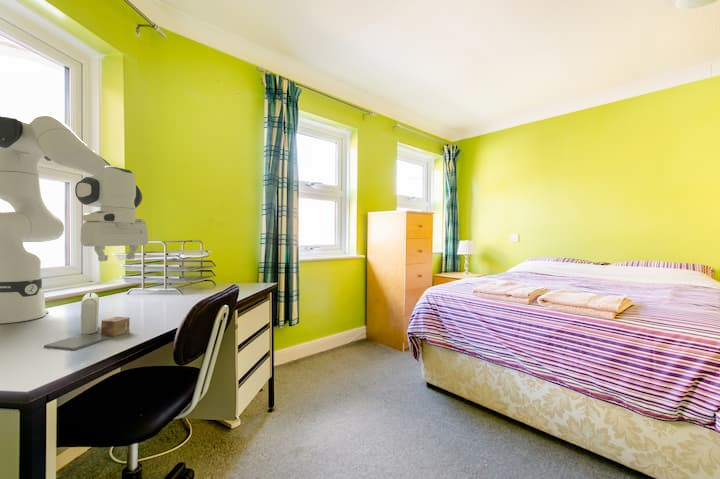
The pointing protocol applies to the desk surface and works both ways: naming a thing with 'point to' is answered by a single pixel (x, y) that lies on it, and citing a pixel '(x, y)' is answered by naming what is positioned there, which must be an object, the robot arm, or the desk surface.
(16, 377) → the desk surface
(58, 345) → the slate pad
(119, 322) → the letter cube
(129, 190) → the robot arm
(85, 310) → the white rounded upright block
